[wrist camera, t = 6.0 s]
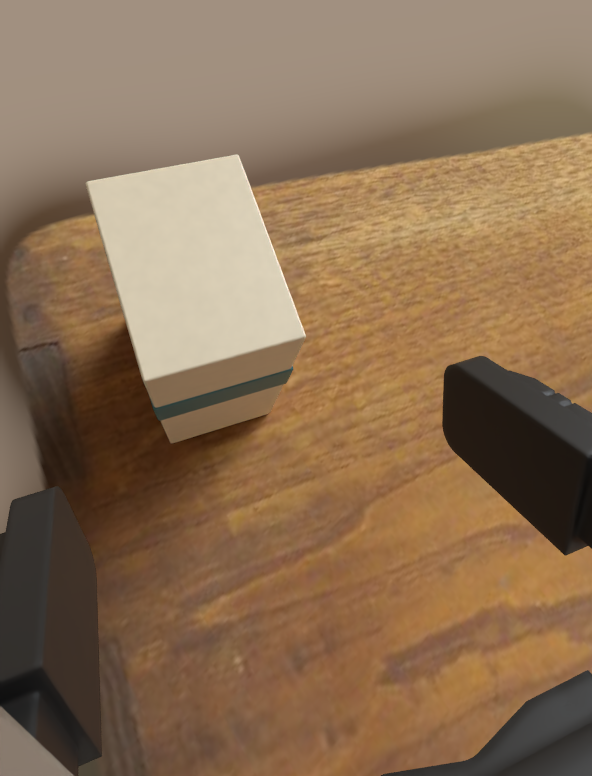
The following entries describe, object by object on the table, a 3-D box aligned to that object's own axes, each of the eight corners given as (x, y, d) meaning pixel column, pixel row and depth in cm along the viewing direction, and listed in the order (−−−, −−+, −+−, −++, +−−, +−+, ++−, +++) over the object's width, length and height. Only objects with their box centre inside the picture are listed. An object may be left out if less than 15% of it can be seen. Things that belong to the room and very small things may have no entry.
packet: (229, 290, 24) (239, 151, 15) (271, 414, 22) (309, 338, 14) (131, 314, 23) (82, 179, 14) (169, 445, 21) (141, 384, 13)
